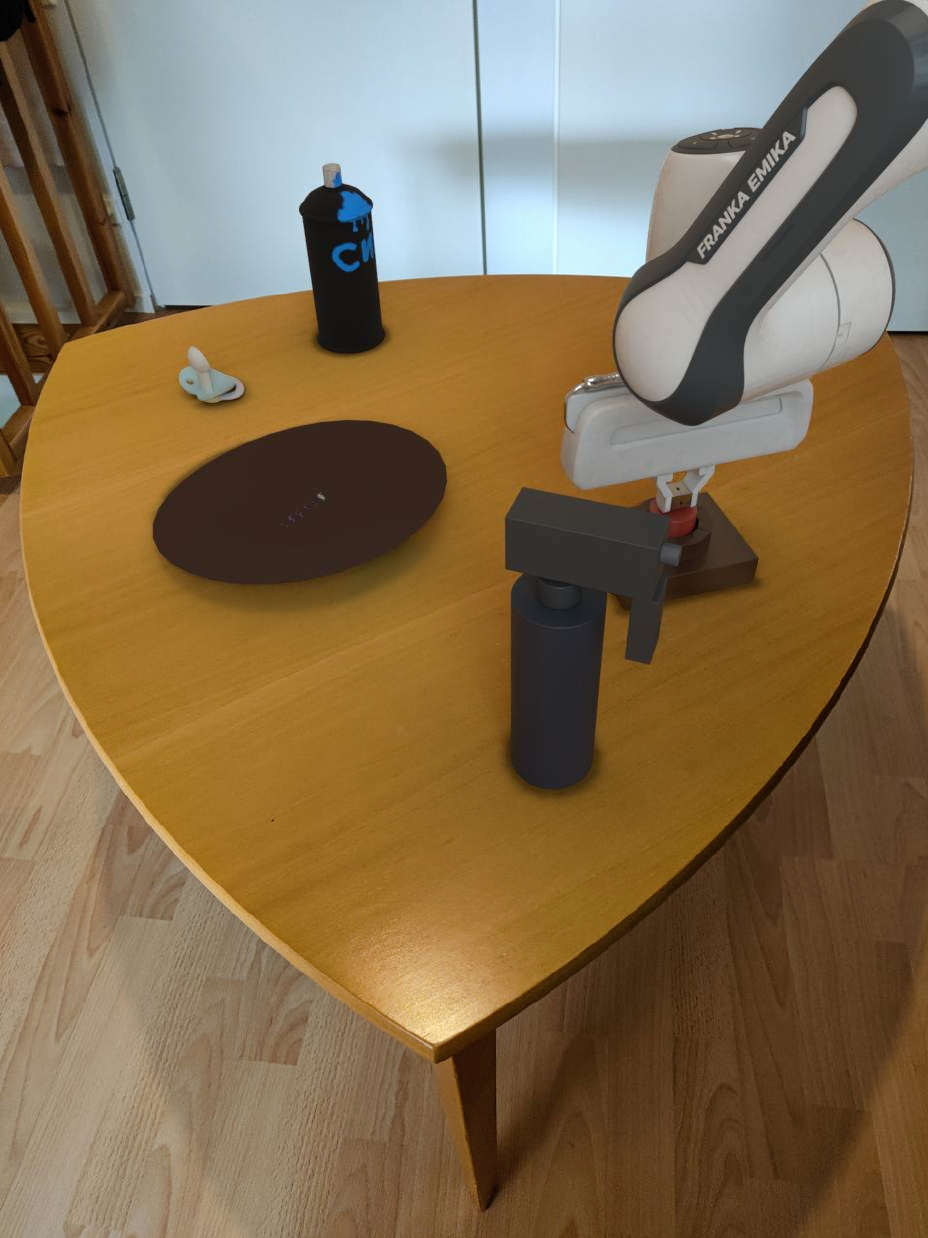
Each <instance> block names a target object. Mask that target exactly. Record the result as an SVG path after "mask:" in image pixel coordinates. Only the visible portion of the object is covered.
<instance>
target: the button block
mask: <svg viewBox="0 0 928 1238" xmlns="http://www.w3.org/2000/svg"><path fill="white" fill-rule="evenodd" d="M654 498H655V497H652V498H651V497H650V498H647V499H645V500H643V501H642V502H640V503H639V504H637V505H634V506H630V507H628V508H632V509H637V510H642V511H647V512H649V507H650V503H651V502H652V500H653V499H654ZM696 507H697V515H696V522H695V527H694V529H693V531H692V532H691V533H690V534H688V535H686V536H681V537H668V542H667V543H669V544H674V545H679V546H682V552H681V557H680V561H679V564H678V566H677V567H676V566H671V565H667V564H664V569H663V572H662V575H661V577H663V578H667V585H666V592H665V599H664V602H668V601H673V600H677V599H681V598H686V597H691V596H695V595H696V596H697V595H700V594H705V593H709V592H714V591H718V590H719V591H720V590H723V589H728V588H733V587H737V586H741V585H746V584H750V583H754V582H755V578H756V573H757V570H758V564H759V560H760V559H759V556H758V554H756V552H755V550H753V548H752V547H751V546H750V545H749V544H748V542H747V541H746V540H745V538H744V537H743V536H742V534H741V533H740V531H738V529H737V528H736V526H735V525H734V524H733V522H732V521H731V520H730V519H729V518H728V516H727V515H726V514H725V512H724V511H723V509H721V508H720V506H719V504H718V503H717V502H716V501H715V500H714V498H713V497H712V496H711V494H710V493H709V492H708V491H704V492H700V493H699V492H698V497H697V503H696ZM614 595H615V597H616V598H617V599H618V602H619V603H620V605H621V606H622V609H623V610H624V611H627V610H630V609H631V600H632V598H631V597H626V596H622V595H618V594H614Z"/></svg>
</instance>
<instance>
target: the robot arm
mask: <svg viewBox="0 0 928 1238" xmlns="http://www.w3.org/2000/svg"><path fill="white" fill-rule="evenodd" d="M927 169H928V0H868V1H867V3H866V4H865V5H863V7H862V8H861V10H859V12H858V13H857V14H856V15H855V16H853V18H851V20H850V21H849V22H848V23H847V24H846V25H845V26H844V27H843V28H842V29H841V31H840V32H839V33H838V34H837V35H836V36H835V37H834V39H833V40H832V41H831V42H830V43H829V45H828V46H827V47H826V48H825V49H824V50H823V51H822V52H821V53H820V54H819V55H818V56H817V57H816V59H815V60H814V61H813V62H812V63H811V65H810V66H809V67H808V68H807V69H806V71H804V72H803V74H802V75H801V76H800V77H799V79H798V80H797V82H796V83H795V84H794V85H793V87H792V88H791V89H790V90H789V92H788V93H787V94H786V96H784V99H783V100H782V101H781V102H780V103H779V105H778V106H777V107H776V109H775V111H774V112H773V113H772V115H771V116H770V117H769V118H768V120H767V121H766V122H765V124H764V125H763V127H762V128H761V127H755V126H754V127H753V126H744V127H742V126H741V127H738V126H737V127H733V128H723V129H722V128H718V129H714V130H710V131H705V132H701V133H698V134H695V135H691V136H689V137H685V138H683V139H680V140H679V141H678V142H677V143H676V144H674V145H672V146H671V148H670V149H668V152H667V153H666V155H665V157H664V159H663V162H662V164H661V167H660V170H659V171H658V176H657V180H656V184H655V188H654V192H653V198H652V203H651V209H650V216H649V221H648V229H647V237H646V238H647V239H646V249H645V260H644V263H643V264H642V265H641V266H640V267H639V268H638V269H637V270H635V272H634V274H633V275H632V276H631V278H630V280H629V281H628V283H627V285H626V287H625V289H624V291H623V294H622V296H621V298H620V301H619V304H618V306H617V310H616V313H615V317H614V321H613V326H612V327H613V328H612V334H611V335H612V336H611V337H612V338H611V341H612V342H611V343H612V344H611V345H612V354H613V359H614V364H615V367H616V370H617V371H614V372H610V373H605V374H602V375H601V374H593V375H589V376H586V377H584V378H583V379H582V380H581V381H582V382H580V383H578V384H577V385H575V386H574V387H572V388H571V389H570V391H568V392H567V393H566V395H565V397H564V401H563V422H564V428H563V434H562V437H561V438H562V439H561V446H560V456H559V458H560V459H559V460H560V466H561V468H562V471H563V473H564V474H565V476H566V478H567V479H568V480H569V482H570V483H571V484H572V485H573V486H575V487H576V488H577V489H578V490H580V491H584V492H585V491H590V490H596V489H601V488H605V487H611V486H616V485H620V484H621V485H622V484H625V483H630V482H631V483H632V482H636V481H641V480H646V479H651V480H652V482H653V484H654V485H655V486H656V488H657V490H656V496H655V498H656V502H657V505H658V507H659V508H660V510H661V511H662V512H663V513H665V512H670V511H675V510H679V509H684V508H690V507H695V506H696V503H697V497H698V494H699V492H701V491H702V489H703V488H704V487H705V485H706V484H707V483H708V481H710V479H711V478H712V476H714V474H715V470H716V465H717V466H718V465H722V464H726V463H727V464H728V463H731V462H737V461H742V460H747V459H752V458H753V459H754V458H758V457H764V456H767V455H772V454H777V453H783V452H788V451H792V450H794V449H796V448H797V447H798V446H799V445H800V444H801V443H802V442H803V441H804V439H805V438H806V436H807V434H808V432H809V426H810V422H811V418H812V411H813V405H814V395H815V394H814V391H815V390H814V386H813V384H812V381H810V379H811V378H813V376H816V375H819V374H822V373H824V372H827V371H829V370H832V369H834V368H837V367H838V366H841V365H844V364H846V363H848V362H850V361H853V360H855V359H856V358H859V357H861V356H864V355H866V354H868V353H869V352H871V351H872V350H873V349H874V348H875V347H876V346H877V345H878V344H879V342H880V341H881V339H882V338H883V336H884V334H885V333H886V330H887V329H888V326H889V324H890V322H891V318H892V316H893V313H894V308H895V304H896V303H895V301H896V293H897V292H896V290H897V289H896V288H897V287H896V285H897V284H896V273H895V267H894V264H893V261H892V258H891V254H890V253H889V250H888V249H887V246H886V245H885V243H884V242H883V240H882V239H881V238H880V237H879V235H878V234H877V233H876V232H875V231H874V230H873V229H872V228H871V227H870V226H868V225H867V224H866V223H865V222H864V221H861V220H860V219H857V218H856V216H858V215H859V214H860V213H861V212H862V211H863V210H864V209H866V208H867V207H868V206H870V205H871V204H872V203H873V202H875V201H876V200H878V199H879V198H880V197H882V196H883V195H884V194H887V192H889V191H890V190H892V189H894V188H895V187H897V186H899V185H900V184H902V183H904V182H905V181H907V180H909V179H910V178H912V177H915V176H916V175H918V174H920V173H922V172H923V171H926V170H927ZM681 472H686V473H685V476H684V477H683V479H682V480H681V481H675V482H672V481H673V480H674V474H677V473H681Z"/></svg>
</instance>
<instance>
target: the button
mask: <svg viewBox="0 0 928 1238" xmlns="http://www.w3.org/2000/svg"><path fill="white" fill-rule="evenodd" d="M653 498H654V499H653V500H652V502H651V503H650V507H649V512H652V513H657V514H662V515H667V516H670V517H671V520H670V528H669V535H668V537H681V536H686V535H688V534H690V533H691V532H692V531H693V529H694V527H695V522H696V515H697V507H696V506H695V507H690V508H684V509H679V510H675V511H670V512H665V513H663V512H662V511H661V510H660V508H659V507H658V505H657V502H656V497H653Z"/></svg>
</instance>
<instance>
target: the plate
mask: <svg viewBox="0 0 928 1238" xmlns="http://www.w3.org/2000/svg"><path fill="white" fill-rule="evenodd" d="M447 473H448V472H447V465H446V463H445V461H444V459H443V457H442V455H441V453H440V451H439V450H438V449H437V448H436V447H435V446H434V445H433V444H432V443H431V442H430V441H429V440H428V439H426V438H425V437H423V436H421V435H419V434H418V433H416V432H415V431H413V430H410V429H408V428H404V427H403V426H399V425H395V424H392V423H386V422H383V421H382V422H380V421H374V420H367V419H366V420H364V419H363V420H362V419H339V420H338V419H337V420H329V421H319V422H314V423H313V422H312V423H308V424H304V425H302V424H301V425H297V426H293V427H290V428H286V429H283V430H279V431H275V432H271V433H269V434H266V435H263V436H260V437H257V438H255V439H252V440H250V441H247V442H245V443H243V444H241V445H238V446H237V447H234V448H232V449H231V450H229V451H226V452H224V453H222V454H220V455H219V456H217V457H215V458H214V459H212V460H211V461H209V462H207V463H205V464H203V465H202V466H200V467H199V468H198V469H196V470H195V471H193V472H192V473H191V474H189V475H188V476H187V477H186V478H184V479H183V480H182V481H181V482H180V483H179V484H178V485H177V486H175V487H174V488H173V489H172V490H171V491H170V492H169V493H168V494H167V496H166V497H165V498H164V500H163V501H162V503H161V504H160V506H159V507H158V508H157V511H156V513H155V516H154V519H153V522H152V539H153V541H154V544H155V546H156V549H157V551H158V553H160V554H161V556H163V557H164V558H165V560H167V561H168V562H169V563H170V564H171V565H173V566H174V567H177V568H179V569H181V570H182V571H184V572H186V573H188V574H190V575H192V576H197V577H199V578H203V579H205V580H206V579H207V580H208V581H209V580H210V581H213V582H219V583H220V582H221V583H226V584H227V583H229V584H234V585H235V584H236V585H280V584H288V583H298V582H305V581H310V580H314V579H318V578H322V577H326V576H332V575H335V574H339V573H342V572H344V571H347V570H350V569H353V568H356V567H358V566H361V565H364V564H368V563H369V562H371V561H374V560H375V559H377V558H379V557H382V556H383V555H385V554H386V553H389V552H391V551H393V550H394V549H396V548H397V547H399V546H400V545H402V544H404V542H406V541H407V540H408V539H410V538H411V537H413V536H414V535H416V534H417V533H418V532H419V531H420V530H421V528H422V527H424V526H425V524H427V522H428V521H429V520H431V518H432V517H433V516H434V514H435V513H436V512H437V509H438V508H439V506H440V504H441V503H442V501H443V499H444V496H445V492H446V489H447V486H448V485H447V484H448V474H447Z"/></svg>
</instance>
